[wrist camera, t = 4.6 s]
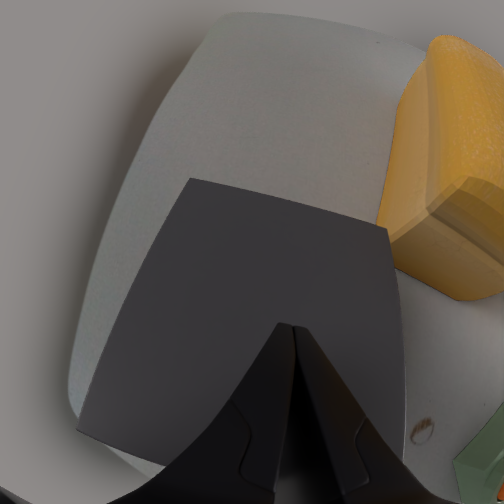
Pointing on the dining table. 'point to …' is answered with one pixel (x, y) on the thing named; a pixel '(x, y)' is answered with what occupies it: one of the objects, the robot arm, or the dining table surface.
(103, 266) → the dining table surface
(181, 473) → the robot arm
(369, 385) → the fryer lid
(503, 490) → the button
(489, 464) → the control block
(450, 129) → the bread
